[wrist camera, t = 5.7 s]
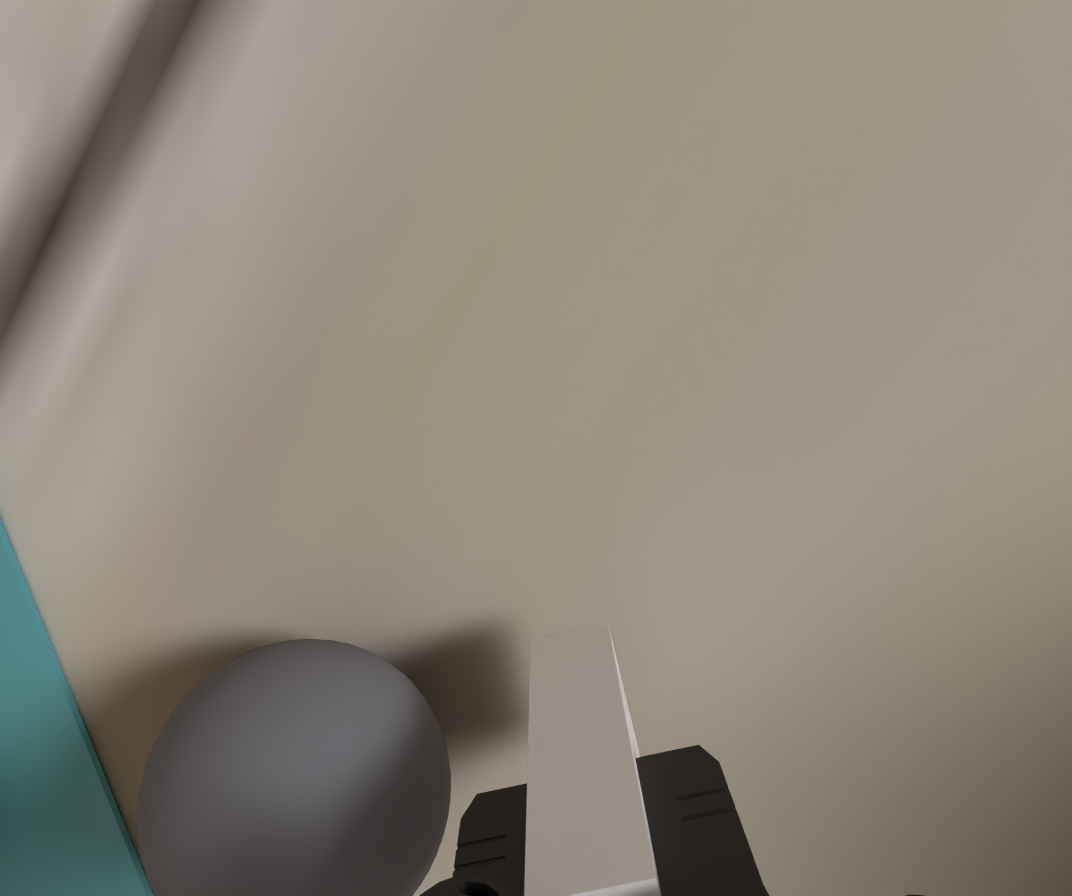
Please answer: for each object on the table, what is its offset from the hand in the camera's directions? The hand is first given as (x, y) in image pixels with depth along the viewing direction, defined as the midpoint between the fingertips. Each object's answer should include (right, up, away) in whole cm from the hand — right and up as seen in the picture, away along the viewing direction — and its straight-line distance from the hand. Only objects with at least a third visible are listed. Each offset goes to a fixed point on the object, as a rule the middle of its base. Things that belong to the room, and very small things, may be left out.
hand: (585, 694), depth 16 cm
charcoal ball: (-5, -2, 0) cm, 6 cm away
